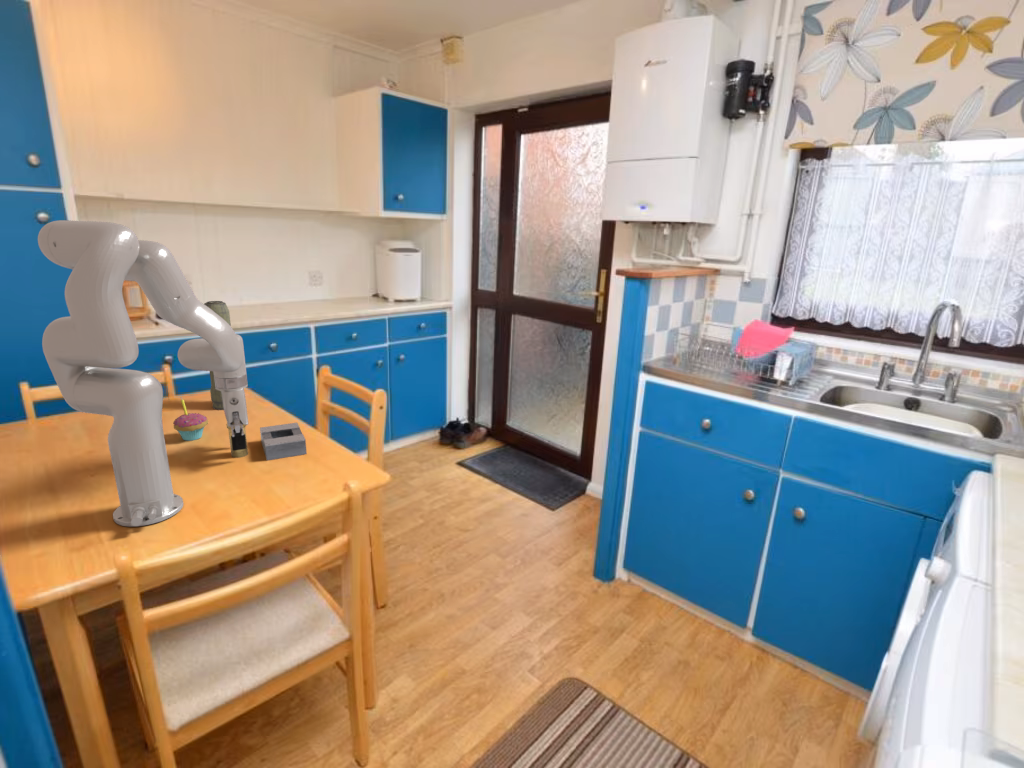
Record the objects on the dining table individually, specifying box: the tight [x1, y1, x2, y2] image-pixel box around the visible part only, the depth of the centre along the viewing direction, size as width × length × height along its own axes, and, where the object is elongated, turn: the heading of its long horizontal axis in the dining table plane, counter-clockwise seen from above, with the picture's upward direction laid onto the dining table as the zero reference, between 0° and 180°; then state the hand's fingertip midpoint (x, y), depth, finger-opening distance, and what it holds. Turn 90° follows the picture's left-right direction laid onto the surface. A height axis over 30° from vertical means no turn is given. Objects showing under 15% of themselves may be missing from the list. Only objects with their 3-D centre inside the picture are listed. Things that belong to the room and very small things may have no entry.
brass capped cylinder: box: [225, 421, 249, 459], centre depth 143 cm, size 5×5×9 cm
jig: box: [259, 422, 308, 461], centre depth 149 cm, size 14×10×4 cm
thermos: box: [203, 300, 232, 411], centre depth 175 cm, size 9×12×35 cm
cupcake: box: [172, 397, 209, 442], centre depth 152 cm, size 9×8×12 cm
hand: (238, 442), depth 144 cm, fingers open, 9 cm apart
